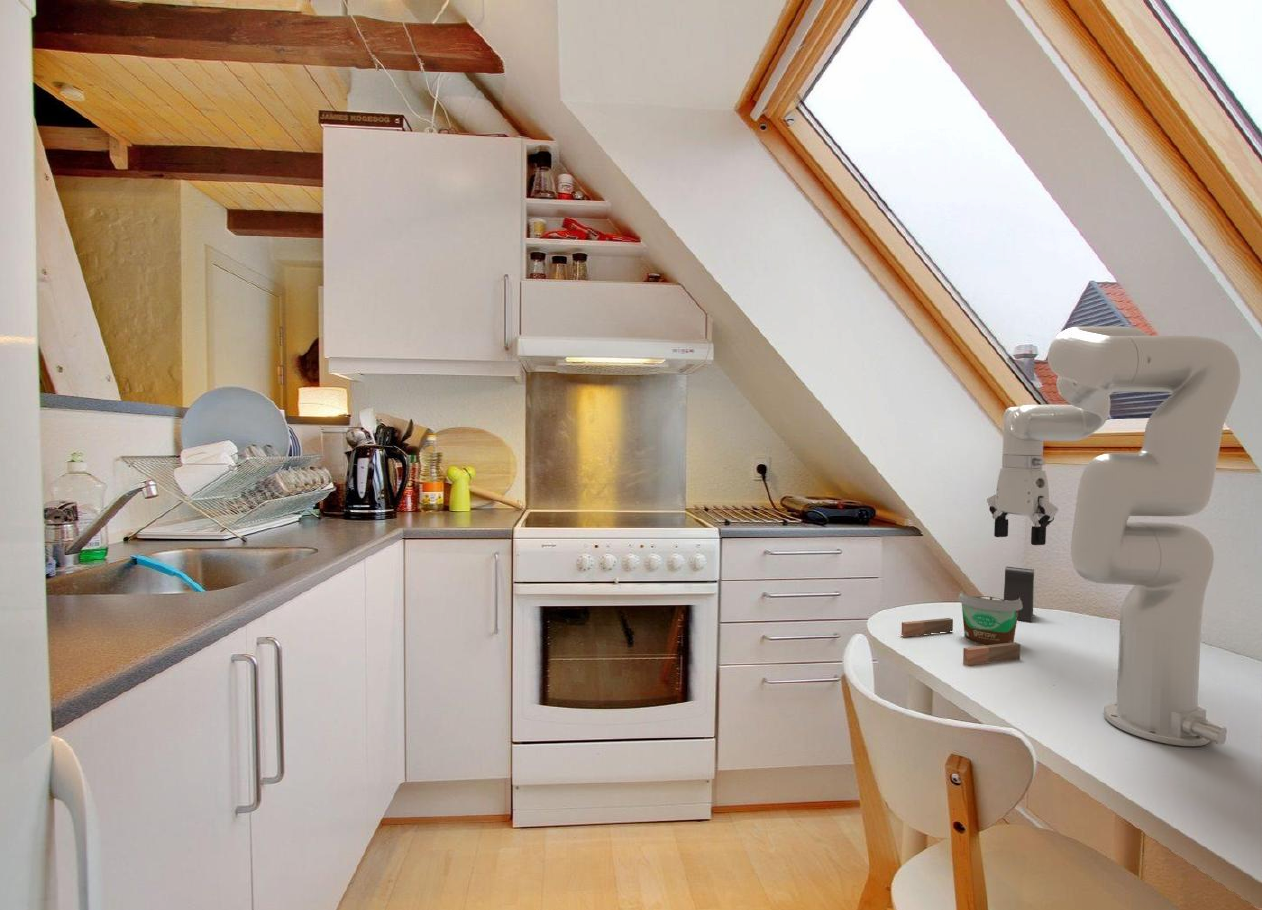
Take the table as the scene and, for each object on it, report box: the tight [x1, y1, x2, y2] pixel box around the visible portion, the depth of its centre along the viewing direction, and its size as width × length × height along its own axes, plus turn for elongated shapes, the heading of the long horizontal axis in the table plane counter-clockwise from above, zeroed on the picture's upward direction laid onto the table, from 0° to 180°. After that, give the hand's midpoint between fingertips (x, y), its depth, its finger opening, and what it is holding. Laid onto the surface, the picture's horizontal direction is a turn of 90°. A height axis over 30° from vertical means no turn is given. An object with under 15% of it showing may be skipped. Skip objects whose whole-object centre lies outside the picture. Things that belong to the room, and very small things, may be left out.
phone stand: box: [1003, 566, 1035, 623], centre depth 156 cm, size 9×6×12 cm, turn 145°
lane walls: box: [900, 617, 1021, 666], centre depth 133 cm, size 18×13×3 cm
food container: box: [957, 590, 1023, 646], centre depth 135 cm, size 12×6×10 cm, turn 62°
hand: (1018, 540), depth 138 cm, fingers open, 9 cm apart
